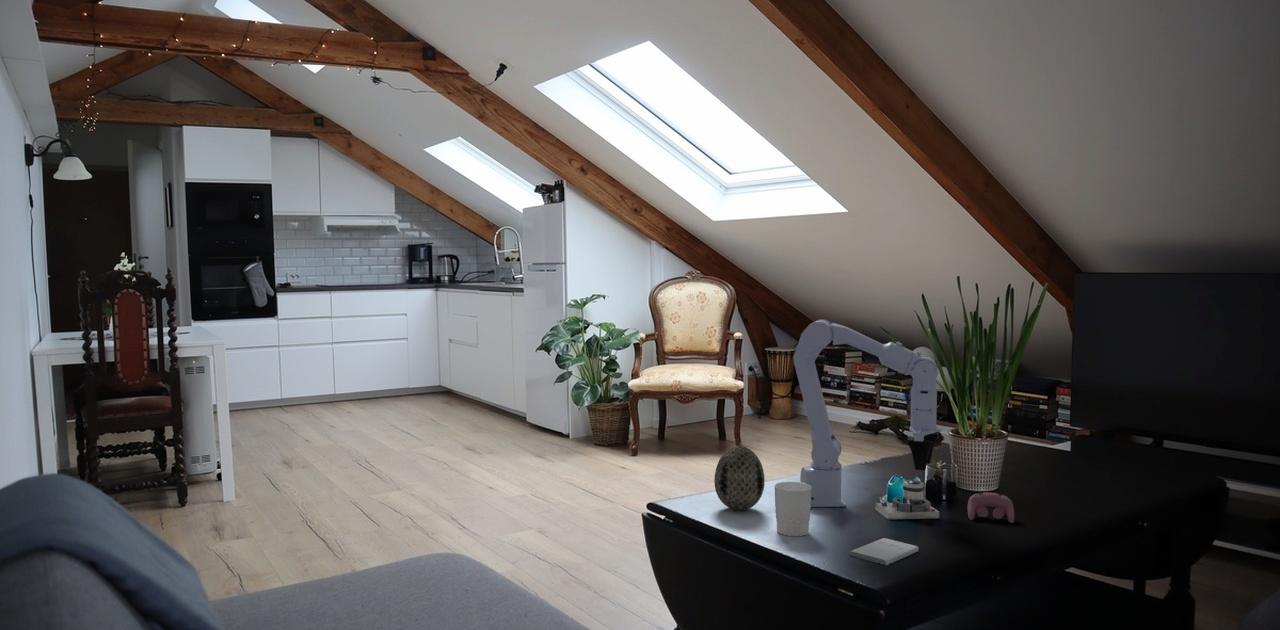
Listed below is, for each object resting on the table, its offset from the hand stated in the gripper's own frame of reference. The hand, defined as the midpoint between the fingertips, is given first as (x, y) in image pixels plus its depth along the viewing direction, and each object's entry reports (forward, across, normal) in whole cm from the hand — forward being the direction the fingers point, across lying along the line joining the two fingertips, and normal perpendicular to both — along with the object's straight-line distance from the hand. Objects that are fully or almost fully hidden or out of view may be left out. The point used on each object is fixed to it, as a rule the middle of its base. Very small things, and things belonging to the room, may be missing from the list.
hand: (922, 466), depth 208 cm
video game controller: (+11, 0, -15) cm, 18 cm away
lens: (+9, -4, +2) cm, 10 cm away
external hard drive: (+11, -35, +2) cm, 37 cm away
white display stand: (+10, -4, +3) cm, 12 cm away
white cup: (+11, -29, +23) cm, 38 cm away
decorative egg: (+10, -18, +39) cm, 44 cm away
